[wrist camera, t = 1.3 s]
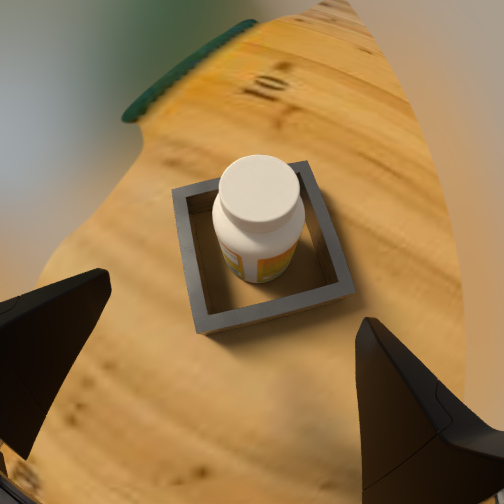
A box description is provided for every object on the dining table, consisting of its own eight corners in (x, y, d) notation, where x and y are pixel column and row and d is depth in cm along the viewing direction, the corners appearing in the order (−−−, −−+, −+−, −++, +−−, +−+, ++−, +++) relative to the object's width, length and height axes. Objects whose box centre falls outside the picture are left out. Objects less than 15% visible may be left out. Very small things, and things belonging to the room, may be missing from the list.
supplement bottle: (296, 227, 23) (320, 153, 14) (285, 290, 22) (307, 247, 12) (233, 214, 24) (220, 136, 15) (216, 276, 22) (189, 224, 13)
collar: (343, 299, 21) (356, 291, 18) (204, 335, 21) (196, 333, 18) (302, 180, 25) (307, 160, 22) (180, 207, 24) (171, 189, 21)
